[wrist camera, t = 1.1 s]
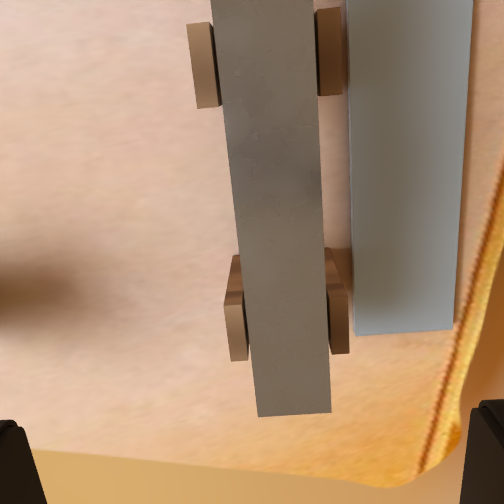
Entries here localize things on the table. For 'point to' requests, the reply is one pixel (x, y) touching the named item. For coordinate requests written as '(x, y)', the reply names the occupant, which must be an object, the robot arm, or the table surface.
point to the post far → (238, 318)
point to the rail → (277, 196)
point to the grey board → (406, 159)
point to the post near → (325, 51)
